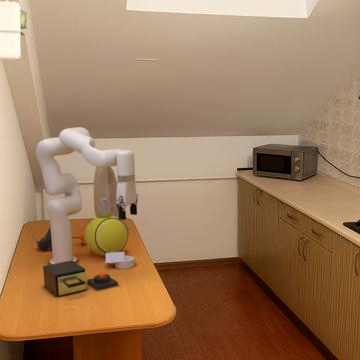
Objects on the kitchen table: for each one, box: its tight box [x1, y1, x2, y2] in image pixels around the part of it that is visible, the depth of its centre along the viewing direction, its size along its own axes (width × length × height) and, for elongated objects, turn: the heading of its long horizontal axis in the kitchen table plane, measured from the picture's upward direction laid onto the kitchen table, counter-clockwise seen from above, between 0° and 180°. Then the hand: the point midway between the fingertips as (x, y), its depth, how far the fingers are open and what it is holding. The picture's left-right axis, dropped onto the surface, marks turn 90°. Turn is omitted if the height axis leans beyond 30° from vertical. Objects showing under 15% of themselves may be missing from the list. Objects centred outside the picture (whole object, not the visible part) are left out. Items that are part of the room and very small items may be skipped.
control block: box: [86, 273, 119, 291], centre depth 236 cm, size 11×9×4 cm
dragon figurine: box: [34, 226, 86, 251], centre depth 290 cm, size 10×12×25 cm
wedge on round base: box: [105, 251, 135, 270], centre depth 260 cm, size 9×7×13 cm
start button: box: [97, 271, 107, 278], centre depth 235 cm, size 4×4×2 cm
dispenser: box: [42, 260, 87, 297], centre depth 231 cm, size 15×13×9 cm
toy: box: [84, 197, 130, 258], centre depth 275 cm, size 23×22×30 cm
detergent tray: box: [57, 271, 87, 296], centre depth 228 cm, size 18×11×7 cm, turn 38°
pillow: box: [93, 166, 119, 218], centre depth 317 cm, size 44×14×43 cm, turn 19°
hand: (128, 217), depth 243 cm, fingers open, 9 cm apart
